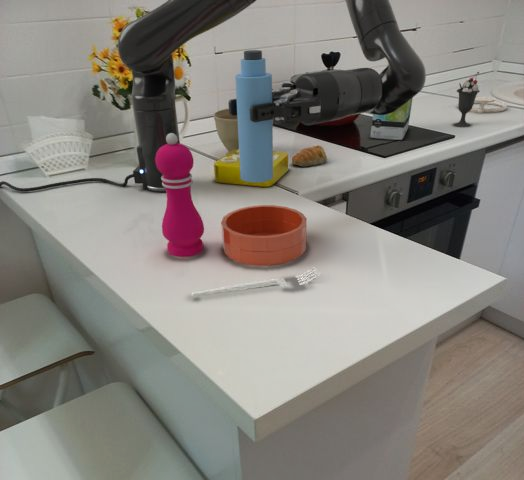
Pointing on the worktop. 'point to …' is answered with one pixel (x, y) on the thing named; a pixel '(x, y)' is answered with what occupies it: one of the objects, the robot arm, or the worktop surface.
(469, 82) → the sundae
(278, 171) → the element tile
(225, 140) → the planter bowl
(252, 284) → the fork
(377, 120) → the tea box
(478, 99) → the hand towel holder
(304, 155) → the pastry
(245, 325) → the worktop surface
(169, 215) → the pepper mill
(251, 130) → the bottle
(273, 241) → the pot
